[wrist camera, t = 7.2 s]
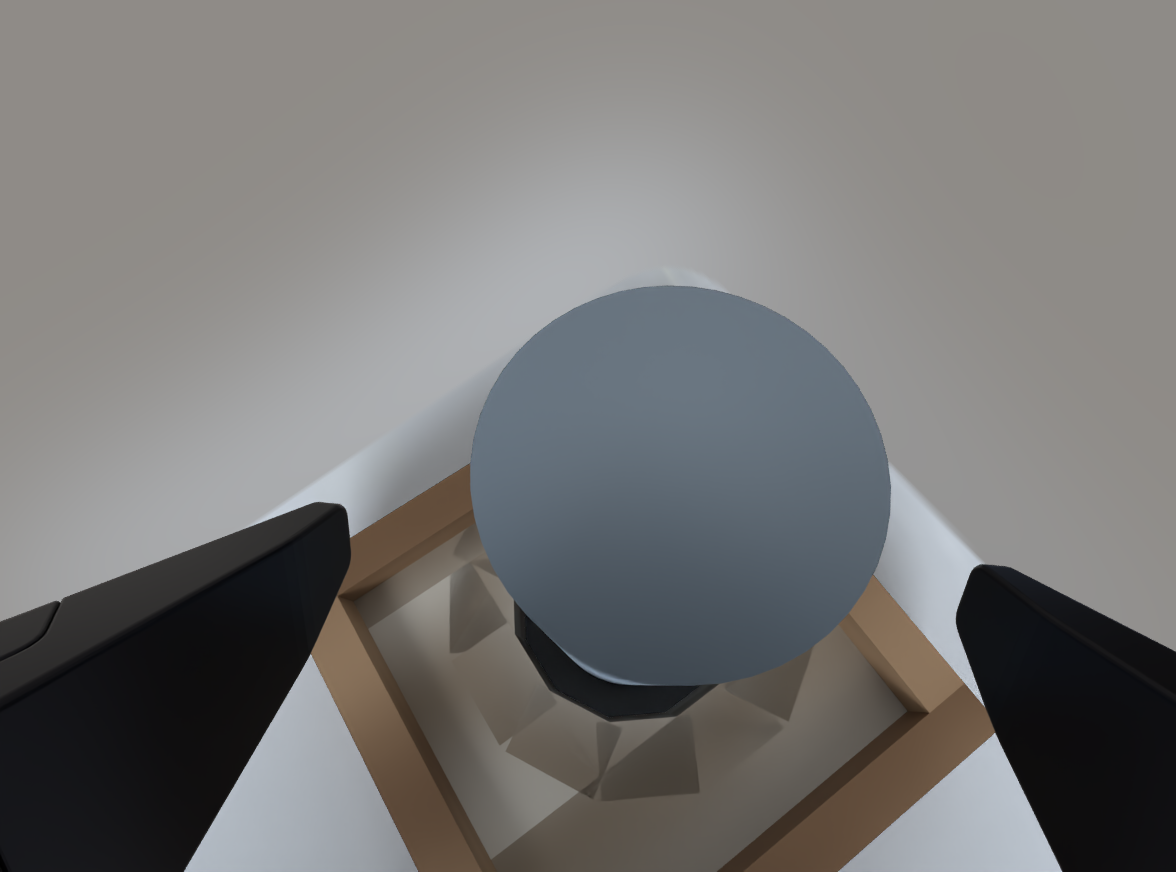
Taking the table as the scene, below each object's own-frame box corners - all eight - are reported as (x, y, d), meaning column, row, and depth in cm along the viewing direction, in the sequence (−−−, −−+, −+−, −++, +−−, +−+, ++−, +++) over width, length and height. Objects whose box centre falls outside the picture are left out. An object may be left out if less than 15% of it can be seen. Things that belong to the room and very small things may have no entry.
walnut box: (919, 718, 16) (1001, 727, 13) (558, 1026, 14) (545, 1129, 11) (660, 394, 20) (672, 336, 16) (336, 602, 17) (276, 584, 14)
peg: (684, 703, 16) (868, 743, 5) (534, 661, 17) (410, 616, 6) (712, 552, 18) (907, 330, 7) (574, 517, 18) (538, 252, 7)
